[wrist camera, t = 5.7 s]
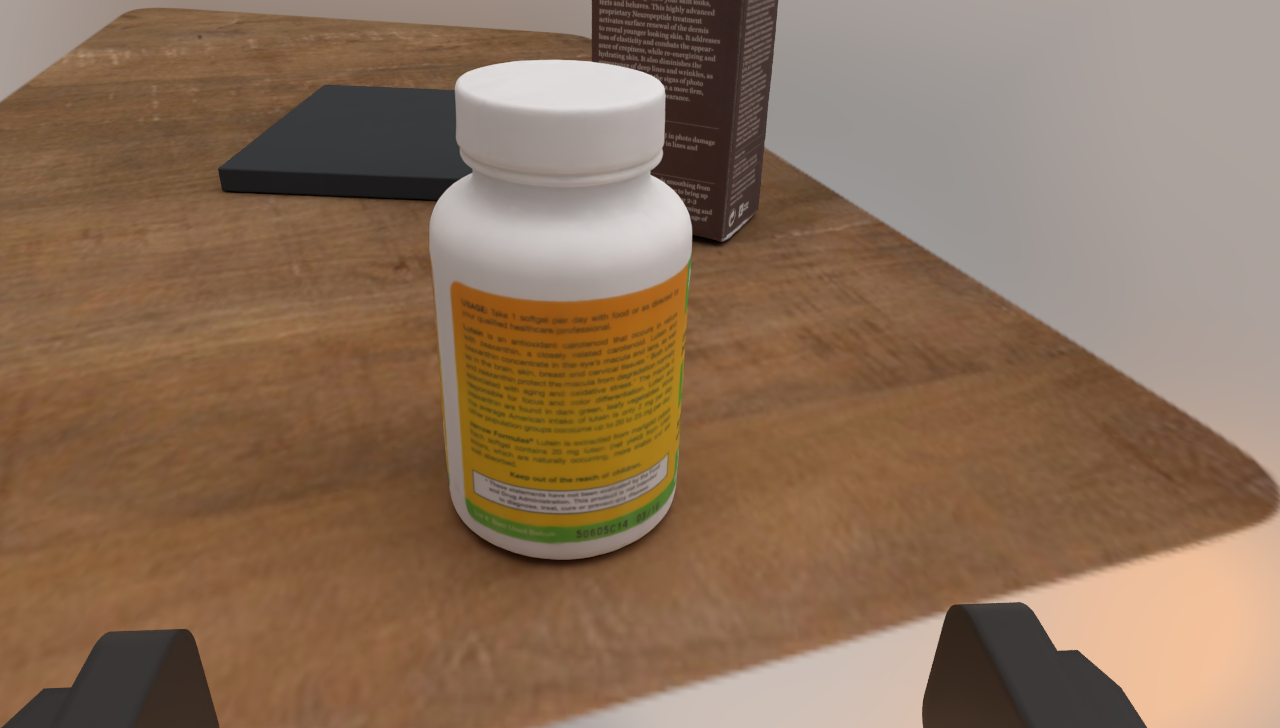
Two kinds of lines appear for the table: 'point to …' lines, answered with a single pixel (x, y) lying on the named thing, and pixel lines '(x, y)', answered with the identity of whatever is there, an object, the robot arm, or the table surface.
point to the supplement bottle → (560, 308)
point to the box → (701, 95)
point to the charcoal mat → (356, 146)
